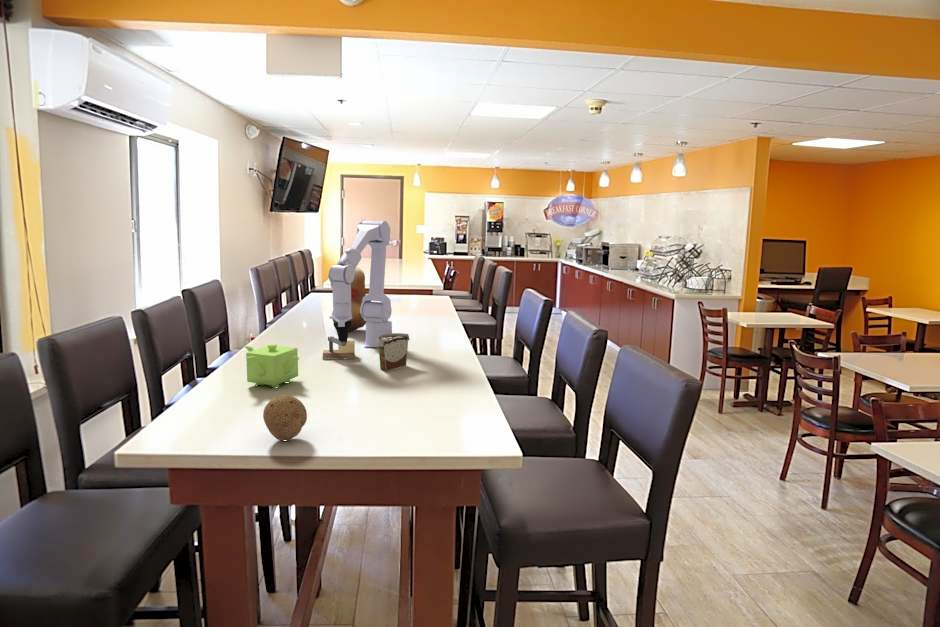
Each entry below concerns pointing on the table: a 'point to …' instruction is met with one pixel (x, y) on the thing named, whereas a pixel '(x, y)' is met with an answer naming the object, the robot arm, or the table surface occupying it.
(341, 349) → the tan wooden block
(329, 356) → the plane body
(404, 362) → the food container
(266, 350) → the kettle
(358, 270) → the butternut squash
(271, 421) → the natural sponge
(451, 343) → the table surface
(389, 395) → the table surface
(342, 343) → the lever
